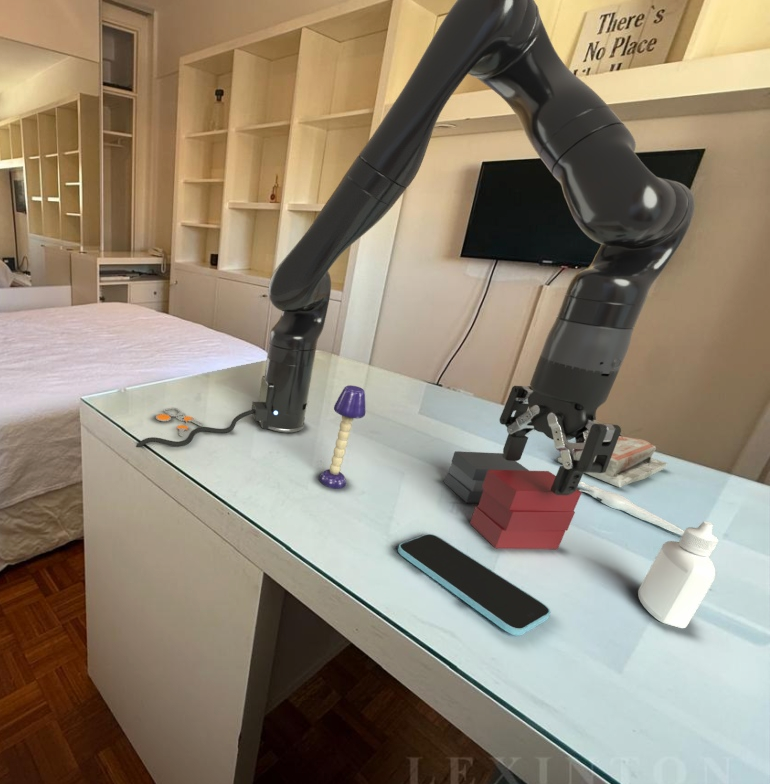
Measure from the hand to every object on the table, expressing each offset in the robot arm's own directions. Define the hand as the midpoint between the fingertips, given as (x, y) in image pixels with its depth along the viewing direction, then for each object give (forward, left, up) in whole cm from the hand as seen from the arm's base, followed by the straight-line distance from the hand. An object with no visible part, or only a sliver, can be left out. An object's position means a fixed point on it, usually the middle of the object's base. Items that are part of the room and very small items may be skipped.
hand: (533, 475), depth 60 cm
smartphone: (-13, -9, -10) cm, 18 cm away
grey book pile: (+3, +11, -10) cm, 15 cm away
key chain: (-45, +35, -10) cm, 58 cm away
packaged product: (+36, +21, -10) cm, 43 cm away
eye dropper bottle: (+8, -13, -10) cm, 18 cm away
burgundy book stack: (0, 0, -10) cm, 10 cm away
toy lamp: (-21, +13, -10) cm, 27 cm away
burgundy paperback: (0, 0, -4) cm, 4 cm away
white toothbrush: (+24, +6, -10) cm, 27 cm away
